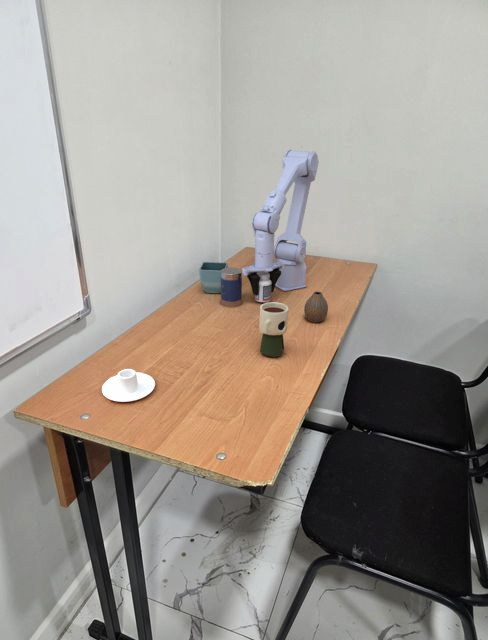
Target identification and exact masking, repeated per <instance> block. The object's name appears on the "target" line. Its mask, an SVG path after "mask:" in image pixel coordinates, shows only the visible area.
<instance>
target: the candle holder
mask: <svg viewBox="0 0 488 640" xmlns="http://www.w3.org/2000/svg"><path fill="white" fill-rule="evenodd" d="M155 387H156V382H155V379H154V378H153V377H152V376H151V375H149V374H147V373H145V372H138V371H136V370H135V369H132V368H123V369H122V370H120V371H118V372H117V374H116V375H114V376H110V377H109V378H108V379H107V380H106V381H105V382H104V383H103V384H102V386H101V393H102V395H103V396H104V397H105V398H106V399H108V400H111V401H114V402H119V403H120V402H121V403H126V402H127V403H128V402H133V401H137V400H140V399H143V398H145V397H147V396H148V395H150V394H151V393H152V392H153V390H155Z"/></svg>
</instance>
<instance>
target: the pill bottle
mask: <svg viewBox="0 0 488 640" xmlns="http://www.w3.org/2000/svg"><path fill="white" fill-rule="evenodd" d="M257 274H258V276H259V277H261V278H260V281H259V286H258V295H257V296H256V295H254V301H256V302H257V303H268V302H271V300H272V292H271V286H272V282H271V280H270V274H269V273H268V272H267V271H265V272H260V273H257Z"/></svg>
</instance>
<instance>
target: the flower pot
mask: <svg viewBox="0 0 488 640" xmlns="http://www.w3.org/2000/svg"><path fill="white" fill-rule="evenodd" d="M228 266H229V263H228V262H219V261H217V262H216V261H215V262H214V261H203V262H201V265H200V267H199V269H198V274H199V280H200V284H201V287H202V289H203V291H204V292H205V293H206V294H221V270H222V269H224V268H229V267H228Z"/></svg>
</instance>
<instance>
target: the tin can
mask: <svg viewBox="0 0 488 640" xmlns="http://www.w3.org/2000/svg"><path fill="white" fill-rule="evenodd" d="M242 289H243V274H242V268H238V267H233V266H231V267H230V266H229V267H227V268H224V269H222V270H221V293H220V299H221V300H220V304H221V306H224V307H226V308H235V307H240V306H241V305H242V298H243V293H242V292H243V290H242Z"/></svg>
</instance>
